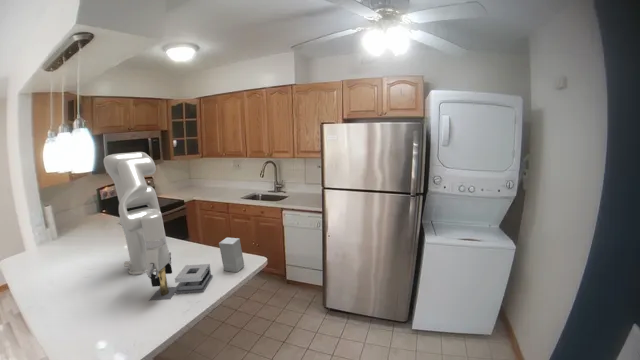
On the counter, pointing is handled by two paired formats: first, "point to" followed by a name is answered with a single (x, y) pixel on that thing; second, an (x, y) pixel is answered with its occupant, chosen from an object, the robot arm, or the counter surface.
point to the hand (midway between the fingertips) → (162, 279)
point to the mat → (163, 297)
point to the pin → (163, 282)
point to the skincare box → (231, 254)
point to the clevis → (193, 279)
